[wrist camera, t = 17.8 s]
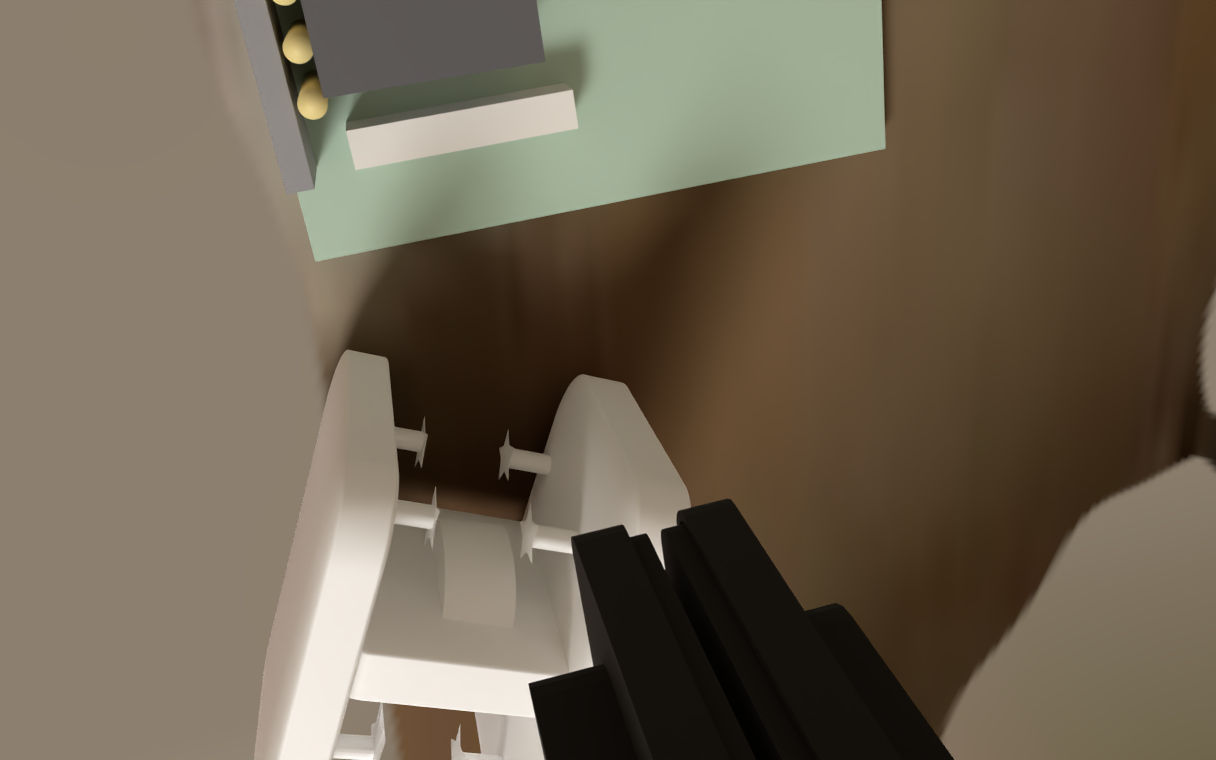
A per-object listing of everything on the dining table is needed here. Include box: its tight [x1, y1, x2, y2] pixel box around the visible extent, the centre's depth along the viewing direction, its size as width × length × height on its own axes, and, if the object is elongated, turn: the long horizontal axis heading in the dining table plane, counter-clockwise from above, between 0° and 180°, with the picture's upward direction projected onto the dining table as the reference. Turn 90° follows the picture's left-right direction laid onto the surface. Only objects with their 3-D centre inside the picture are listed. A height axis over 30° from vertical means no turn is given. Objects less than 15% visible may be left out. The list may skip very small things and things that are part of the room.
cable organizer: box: [254, 350, 691, 760], centre depth 36 cm, size 15×11×12 cm
